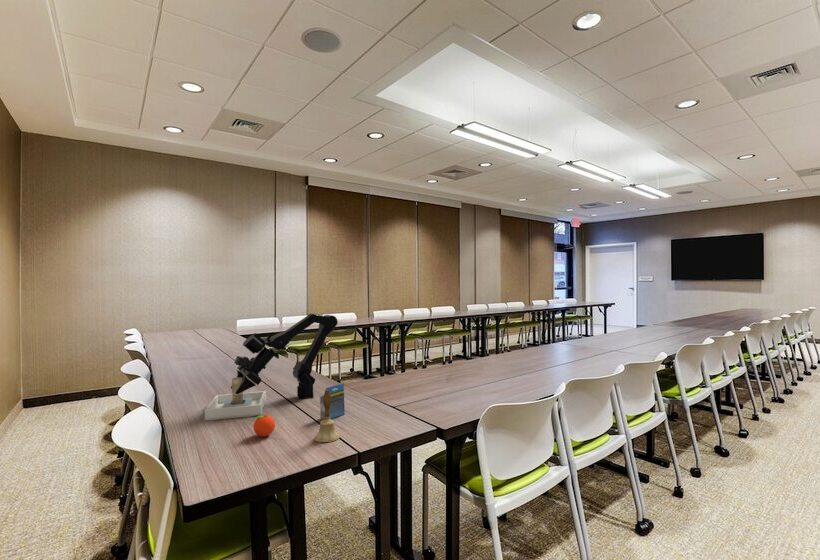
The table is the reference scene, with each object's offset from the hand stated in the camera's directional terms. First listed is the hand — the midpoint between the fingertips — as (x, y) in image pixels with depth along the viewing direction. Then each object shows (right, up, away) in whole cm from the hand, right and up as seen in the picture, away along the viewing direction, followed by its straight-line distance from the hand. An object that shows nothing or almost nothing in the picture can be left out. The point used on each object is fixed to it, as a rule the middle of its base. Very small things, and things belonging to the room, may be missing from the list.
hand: (233, 391), depth 160 cm
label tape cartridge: (+42, -7, -9) cm, 44 cm away
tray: (+1, -8, +1) cm, 8 cm away
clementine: (+22, -8, -27) cm, 36 cm away
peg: (+1, -7, +1) cm, 7 cm away
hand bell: (+44, -8, -29) cm, 54 cm away
